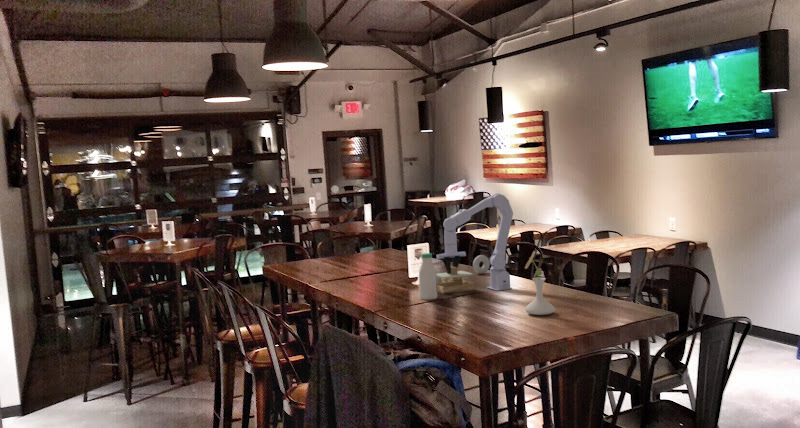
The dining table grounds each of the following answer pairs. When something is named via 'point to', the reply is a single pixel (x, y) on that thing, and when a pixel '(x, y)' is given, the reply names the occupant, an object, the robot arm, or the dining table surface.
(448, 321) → the dining table surface
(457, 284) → the wooden box
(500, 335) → the dining table surface
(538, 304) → the flower in vase
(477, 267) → the donut
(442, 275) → the pale green plate
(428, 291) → the milk bottle
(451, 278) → the key channel
